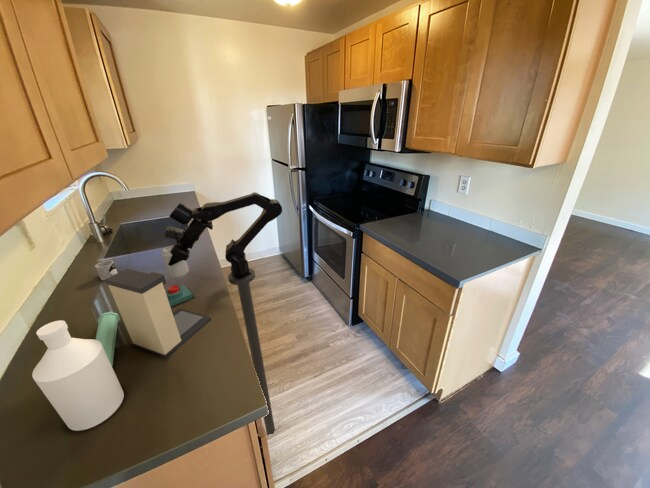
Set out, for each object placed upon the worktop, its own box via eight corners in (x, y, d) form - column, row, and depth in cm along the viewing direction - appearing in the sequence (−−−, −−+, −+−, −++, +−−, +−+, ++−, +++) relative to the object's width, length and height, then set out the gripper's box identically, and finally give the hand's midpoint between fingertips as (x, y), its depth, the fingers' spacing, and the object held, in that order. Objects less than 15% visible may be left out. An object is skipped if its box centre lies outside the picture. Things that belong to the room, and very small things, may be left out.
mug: (115, 278, 125) (110, 265, 122) (98, 281, 123) (92, 268, 120) (122, 268, 134) (117, 256, 131) (106, 271, 132) (101, 258, 129)
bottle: (68, 443, 60) (10, 359, 50) (62, 408, 68) (10, 329, 57) (130, 405, 68) (91, 325, 58) (118, 377, 75) (82, 303, 65)
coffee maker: (179, 310, 101) (161, 251, 91) (211, 320, 96) (195, 258, 86) (132, 345, 86) (103, 279, 76) (166, 358, 81) (140, 289, 71)
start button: (177, 287, 110) (176, 284, 109) (180, 291, 108) (179, 287, 107) (167, 291, 108) (166, 287, 107) (170, 295, 105) (169, 291, 105)
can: (193, 272, 114) (185, 246, 109) (176, 281, 108) (168, 253, 103) (181, 268, 117) (174, 242, 112) (165, 276, 112) (156, 250, 107)
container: (102, 358, 74) (110, 308, 93) (80, 373, 72) (93, 319, 92) (119, 368, 77) (123, 318, 97) (98, 383, 76) (107, 329, 95)
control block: (185, 288, 115) (183, 281, 114) (193, 297, 109) (191, 290, 108) (159, 298, 109) (156, 291, 108) (165, 308, 103) (163, 301, 102)
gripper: (178, 212, 112) (156, 241, 114) (169, 227, 96) (144, 261, 98) (203, 227, 117) (182, 254, 119) (198, 244, 101) (174, 275, 103)
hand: (171, 260), depth 110 cm, fingers closed on can, 7 cm apart
